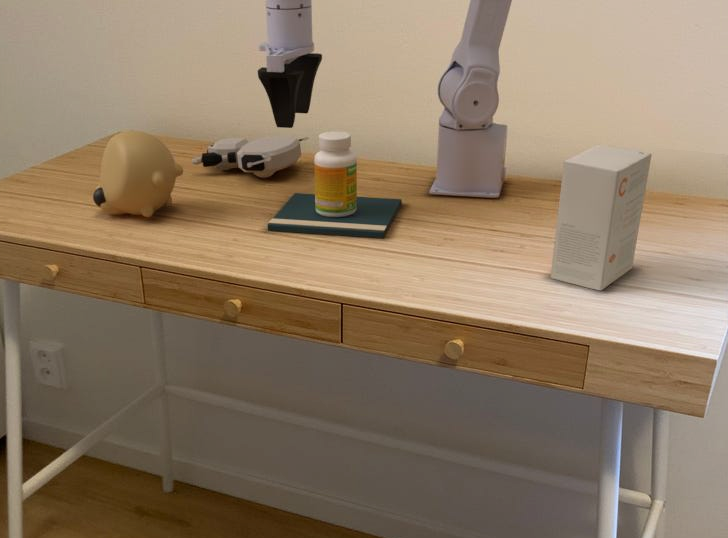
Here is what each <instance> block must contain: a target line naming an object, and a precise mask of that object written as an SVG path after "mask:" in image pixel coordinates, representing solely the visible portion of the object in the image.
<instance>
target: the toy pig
mask: <svg viewBox="0 0 728 538" xmlns="http://www.w3.org/2000/svg"><path fill="white" fill-rule="evenodd" d="M183 173H184V168H183V166H182V165H181V164H180V163H177V162H176V161H175V159H174V156H173V154H172V152H171V151H170V149H169V148H168V146H166V144H165V143H164V142H162V140H161V139H159V138H158V137H156V136H154V135H152V134H150V133H148V132H145V131H140V130H125V131H121V132H119V133H116V134H115V135H113V136H112V137H111V138H110V139H109V141H108V142H107V143H106V146H105V149H104V151H103V154H102V159H101V165H100V177H99V182H98V185H97V186H96V187H94V192H93V195H92V200H93V202H94V204H95V205H96V206H97V207H98V208H100V210H101V211H102V212H104V213H106V214H108V215H114V216H115V215H126V214H130V215H136V216H143V217H145V218H151V217H152V216H153V215H154V212H156V211H158V210H159V209H160V208H161V207H163V206H165V207H169V206H171V205H172V203H173V198H172V192H173V190H174V188H175V184H176V178H177V177H181V176H182V175H183Z"/></svg>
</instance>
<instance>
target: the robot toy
mask: <svg viewBox="0 0 728 538" xmlns="http://www.w3.org/2000/svg"><path fill="white" fill-rule="evenodd" d="M309 139H310V136H305V137H303V138H299V139H298V138H297V137H295V136H294V135H293V136H292V135H286V136H285V135H269V136H264V137H261V138H257V139H255V140H251V141H248V139H247V138H243V137H241V138H240V137H226V138H222V139H219V140H218V141H215V142H214V143H212V145H208V146H207V149H206V152H202V153H201V156H195V157H193V158H192V159H191V164H192V165H197V166H198V165H200V164H202V166H203V168H208V167H218V168H219V169H220V170H221V171H230V170H231V169H240V170H241V171H243V172H244V173H252V174H253V175H255V176H256V177H258V178H261V179H265V178H270V177H272V176H273V175H274V174H275V173H276V172H277V171H281V170H284V169H286V168H289V167H291V166H293V165H294V164H295V163H296V162H297V161H298V160H299V159H300V158H301V156H302V147H301V142H302V141H308V140H309Z"/></svg>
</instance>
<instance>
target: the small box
mask: <svg viewBox="0 0 728 538" xmlns="http://www.w3.org/2000/svg"><path fill="white" fill-rule="evenodd" d="M652 155H653V154H652V153H651V152H648V151H643V150H638V149H633V148H627V147H623V146H622V147H620V146H614V145H606V144H600V143H599V144H596V145H594V146H592V147H590V148H588V149H586V150H584V151H582V152H580V153H578V154H576V155H574V156H571V157H570V158H568V159H566V160H564V161H563V165H562V175H561V185H560V192H559V202H558V209H557V210H558V211H557V218H556V227H555V235H554V244H553V252H552V259H551V261H552V262H551V270H550V278H551V279H552V280H557V281H561V282H564V283H568V284H572V285H575V286H580V287H583V288H588V289H590V290H591V289H592V290H595V291H603V290H604V289H605V288H607V287H608V286H609V285H611V284H612V283H613V282H615V281H617V280H618V279H619V278H621V277H623V275H625V274H626V273H628V272H629V271H630V270H631V269H633V267H634V266H633V265H634V259H635V254H636V247H637V241H638V235H639V229H640V225H641V224H640V223H641V219H642V213H643V208H644V201H645V195H646V190H647V184H648V178H649V171H650V167H651V160H652Z"/></svg>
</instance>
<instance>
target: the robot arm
mask: <svg viewBox="0 0 728 538" xmlns="http://www.w3.org/2000/svg"><path fill="white" fill-rule="evenodd" d="M512 2H513V0H470V1H469V5H468V7H467V8H468V9H467V13H466V17H465V21H464V25H463V29H462V34H461V38H460V40H459V42H458V44H457V45H456V47H455V49H454V51H453V52H452V54H451V59H450V62H449V65H448V67H447V68H446V69H445V71H444V72H443V73H442V74H441V76H440V77H439V79H438V83H437V96H438V100H439V102H440V103H441V105H442V106H443V108H444V109H443V111H442V113H441V115H440V116H439V118H438V132H437V133H438V136H437V137H438V138H437V155H436V156H437V157H436V177H435V179H434V181H433V183H432V185H431V187H430V189H429V194H430V195H435V196H436V195H437V196H452V197H453V196H456V197H470V198H471V197H472V198H487V199H489V198H490V199H497V198H499V197H500V194H501V191H502V187H503V184H504V181H505V180H506V174H507V173H506V172H507V171H506V170H507V168H506V166H505V164H506V154H507V152H506V151H507V143H508V142H507V141H508V125H507V124H500V123H496V122H494V116H495V115H496V113H497V110H498V108H499V105H500V104H499V103H500V96H499V89H498V82H499V77H500V73H501V68H500V66H501V65H500V56H499V55H500V54H499V52H500V51H499V50H500V47H501V43H502V39H503V36H504V31H505V28H506V25H507V21H508V17H509V13H510V9H511V5H512ZM312 3H313V2H312V0H265V15H266V16H265V18H266V19H265V20H266V36H267V37H266V38H267V42H261V43H259V44H258V51H260V52H266V55H265V60H266V62H265V63H266V67H263V66H262V67H260V68H259V69H257V77H258V79H259V82H260V83H261V85H262V86H263V88H264V90H265V92H266V95H267V98H268V100H269V104H270V107H271V112H272V115H273V119H274V122H275V125H276V128H285V129H292V128H293V127H294V125H295V121H296V114H308V113H309V111H310V107H311V101H312V96H313V95H312V94H313V90H314V84H315V79H316V77H317V72H318V70H319V67H320V65H321V63H322V60H323V54H322V53H319V52H318V53H317V52H315V53H314V51H315V43H314V41H313V10H312V9H313V7H312Z"/></svg>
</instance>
